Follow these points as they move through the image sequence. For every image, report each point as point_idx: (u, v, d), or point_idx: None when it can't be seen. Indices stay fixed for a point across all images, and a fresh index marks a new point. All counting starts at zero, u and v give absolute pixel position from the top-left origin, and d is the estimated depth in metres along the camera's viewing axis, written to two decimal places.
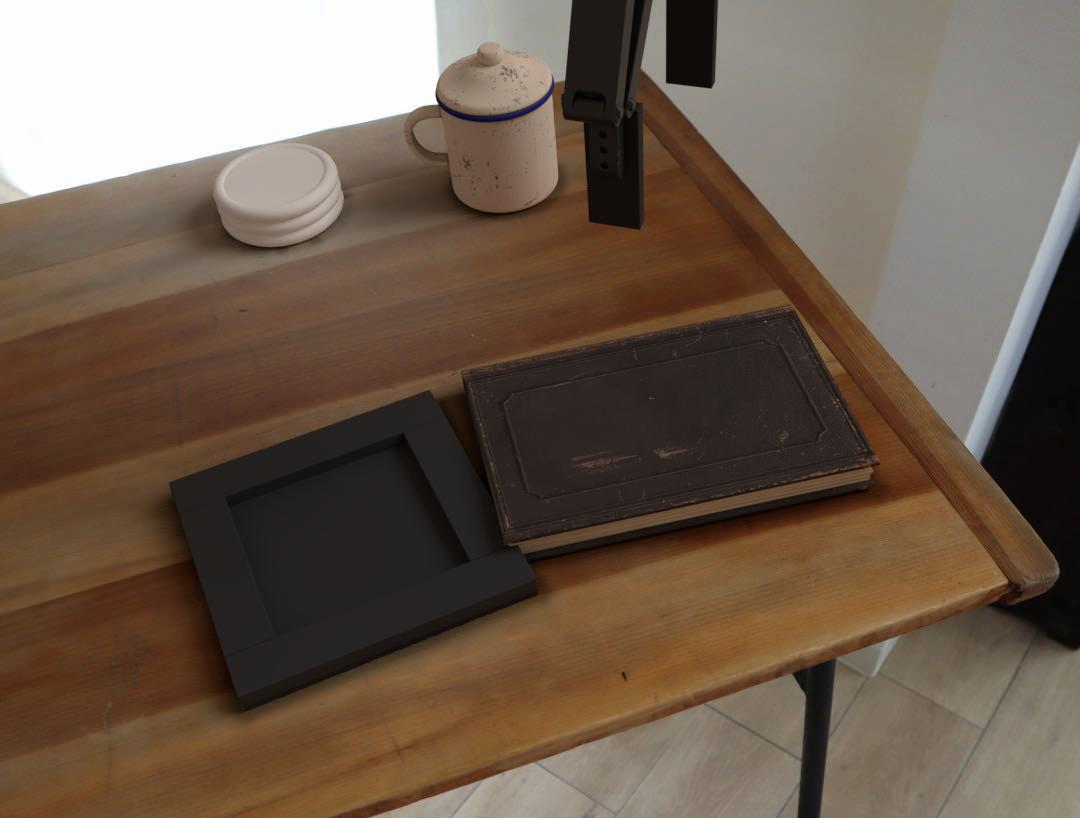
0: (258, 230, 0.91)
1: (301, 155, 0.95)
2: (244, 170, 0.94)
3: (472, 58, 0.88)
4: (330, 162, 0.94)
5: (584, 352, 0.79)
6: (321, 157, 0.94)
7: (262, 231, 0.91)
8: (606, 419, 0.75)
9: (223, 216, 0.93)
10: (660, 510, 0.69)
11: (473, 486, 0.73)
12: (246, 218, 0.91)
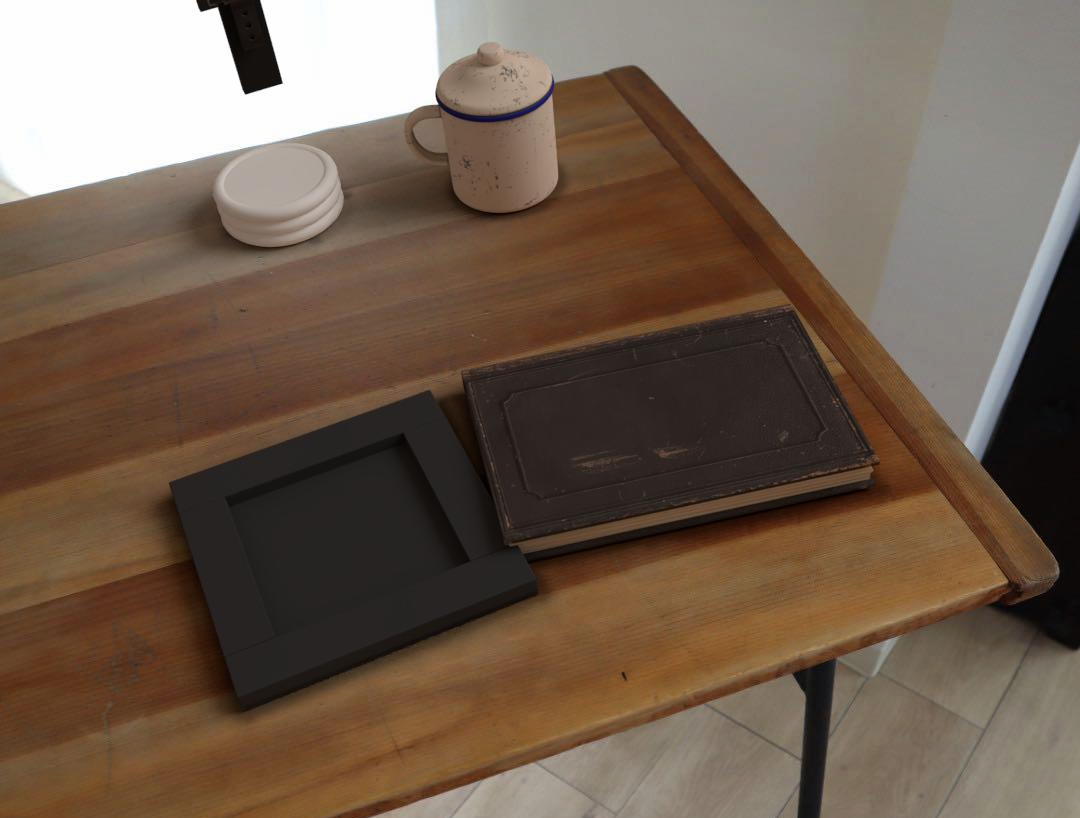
0: (258, 230, 0.91)
1: (301, 155, 0.95)
2: (244, 170, 0.94)
3: (472, 58, 0.88)
4: (330, 162, 0.94)
5: (583, 352, 0.79)
6: (321, 157, 0.94)
7: (262, 231, 0.91)
8: (606, 418, 0.75)
9: (223, 216, 0.93)
10: (660, 510, 0.70)
11: (473, 486, 0.73)
12: (246, 218, 0.91)
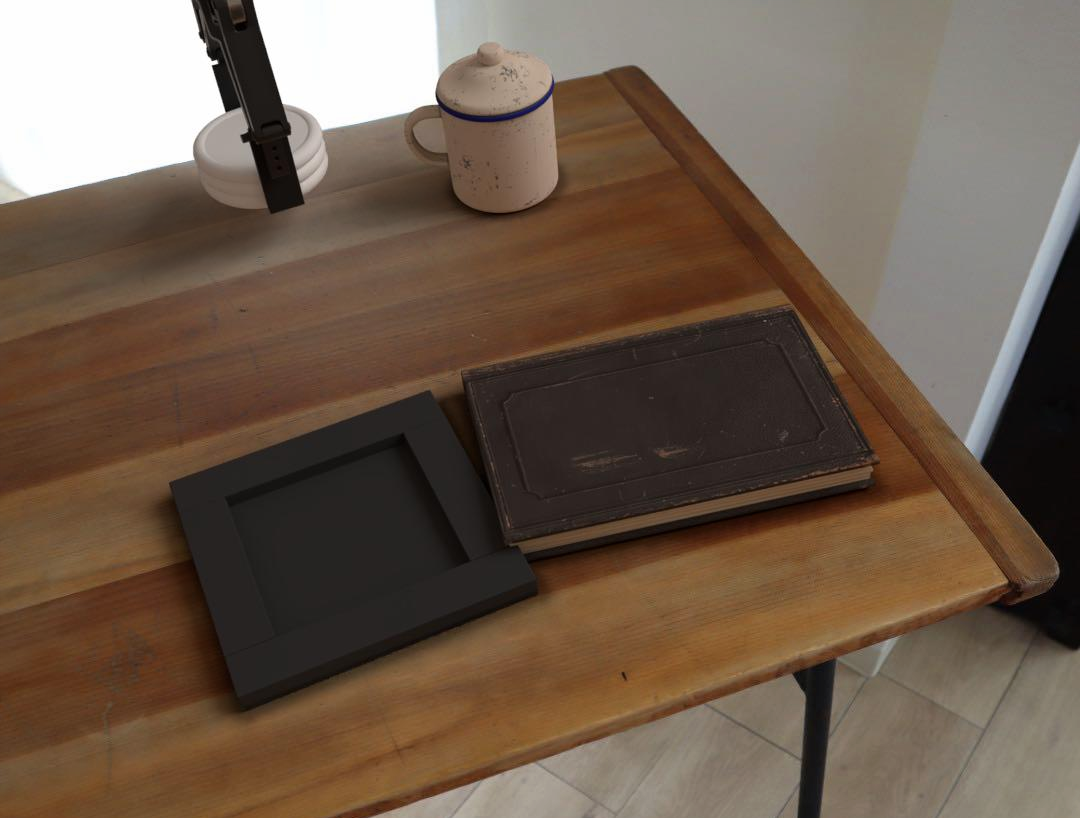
0: (239, 191, 0.89)
1: None
2: (226, 130, 0.91)
3: (472, 58, 0.88)
4: (314, 123, 0.91)
5: (583, 352, 0.79)
6: (306, 118, 0.92)
7: (243, 192, 0.89)
8: (606, 418, 0.75)
9: (203, 176, 0.90)
10: (660, 509, 0.70)
11: (473, 486, 0.73)
12: (227, 178, 0.88)
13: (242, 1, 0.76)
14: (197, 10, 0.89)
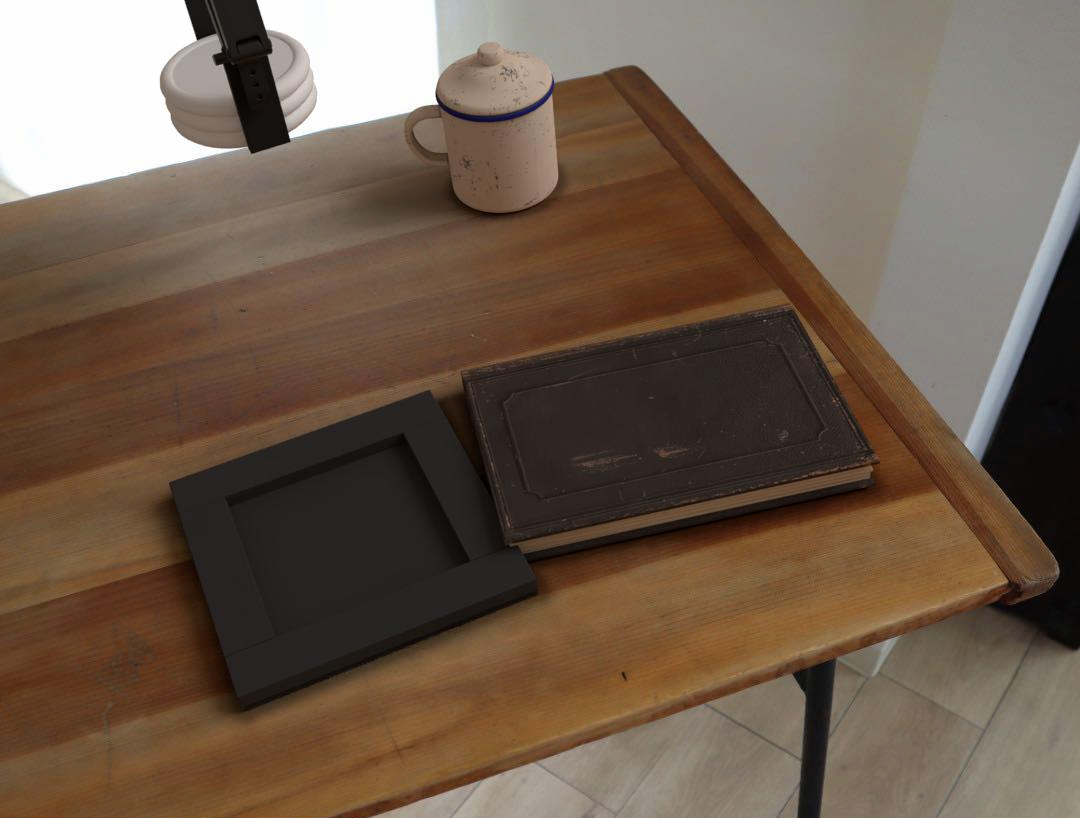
0: (214, 126, 0.76)
1: None
2: (197, 58, 0.79)
3: (472, 58, 0.88)
4: (300, 49, 0.79)
5: (583, 352, 0.79)
6: (290, 43, 0.79)
7: (219, 127, 0.76)
8: (606, 418, 0.75)
9: (172, 112, 0.77)
10: (661, 509, 0.70)
11: (473, 486, 0.73)
12: (199, 111, 0.75)
13: None
14: None
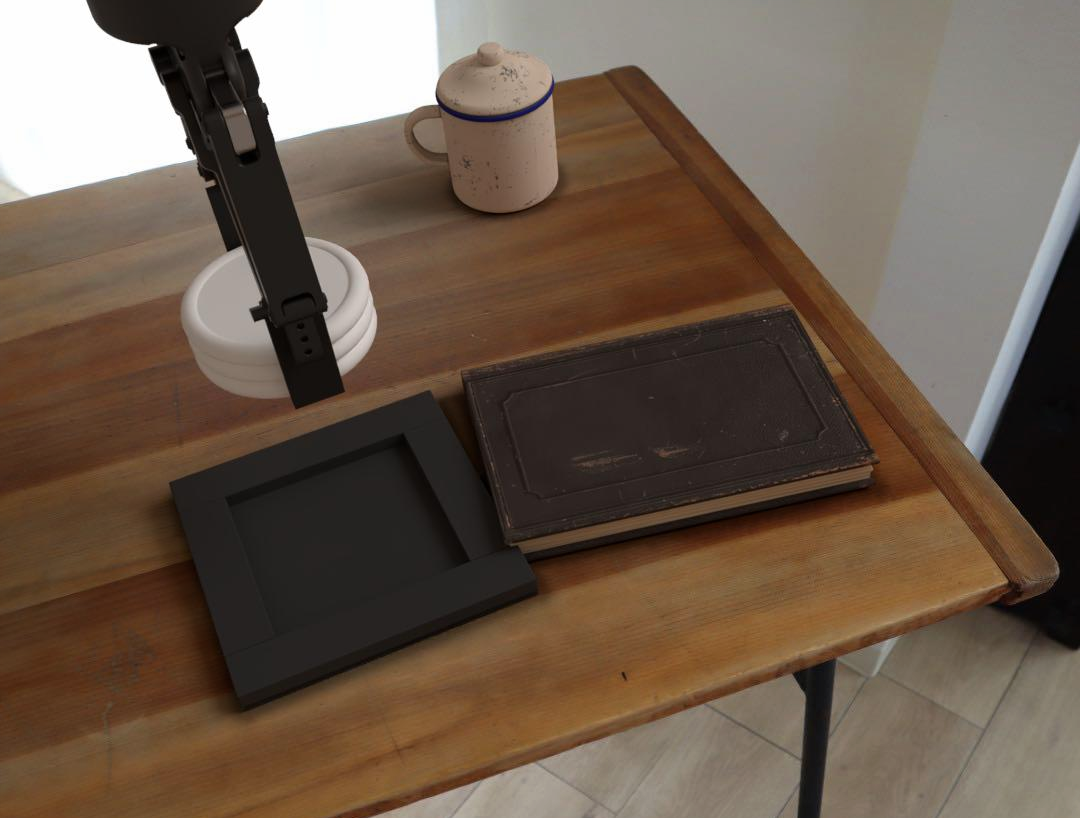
0: (250, 377, 0.60)
1: (313, 256, 0.63)
2: (228, 280, 0.63)
3: (472, 58, 0.88)
4: (357, 269, 0.62)
5: (583, 352, 0.79)
6: (344, 260, 0.63)
7: (256, 378, 0.60)
8: (606, 418, 0.75)
9: (196, 352, 0.61)
10: (661, 509, 0.70)
11: (473, 486, 0.73)
12: (231, 360, 0.59)
13: (250, 120, 0.48)
14: None
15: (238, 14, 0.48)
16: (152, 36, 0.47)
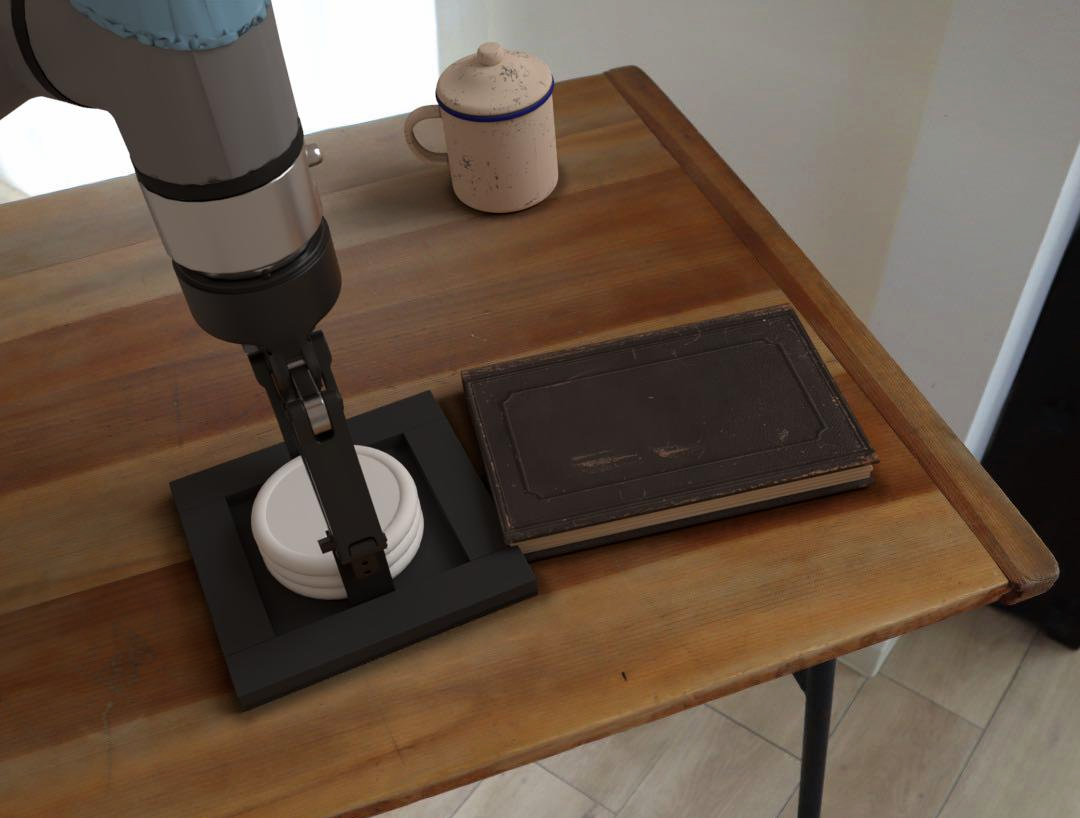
0: (313, 584, 0.68)
1: (368, 467, 0.71)
2: (292, 490, 0.71)
3: (472, 58, 0.88)
4: (407, 481, 0.70)
5: (583, 351, 0.79)
6: (395, 472, 0.71)
7: (319, 585, 0.68)
8: (606, 418, 0.75)
9: (265, 558, 0.69)
10: (661, 509, 0.70)
11: (473, 486, 0.73)
12: (298, 571, 0.67)
13: (328, 410, 0.56)
14: None
15: (318, 317, 0.56)
16: (245, 340, 0.55)
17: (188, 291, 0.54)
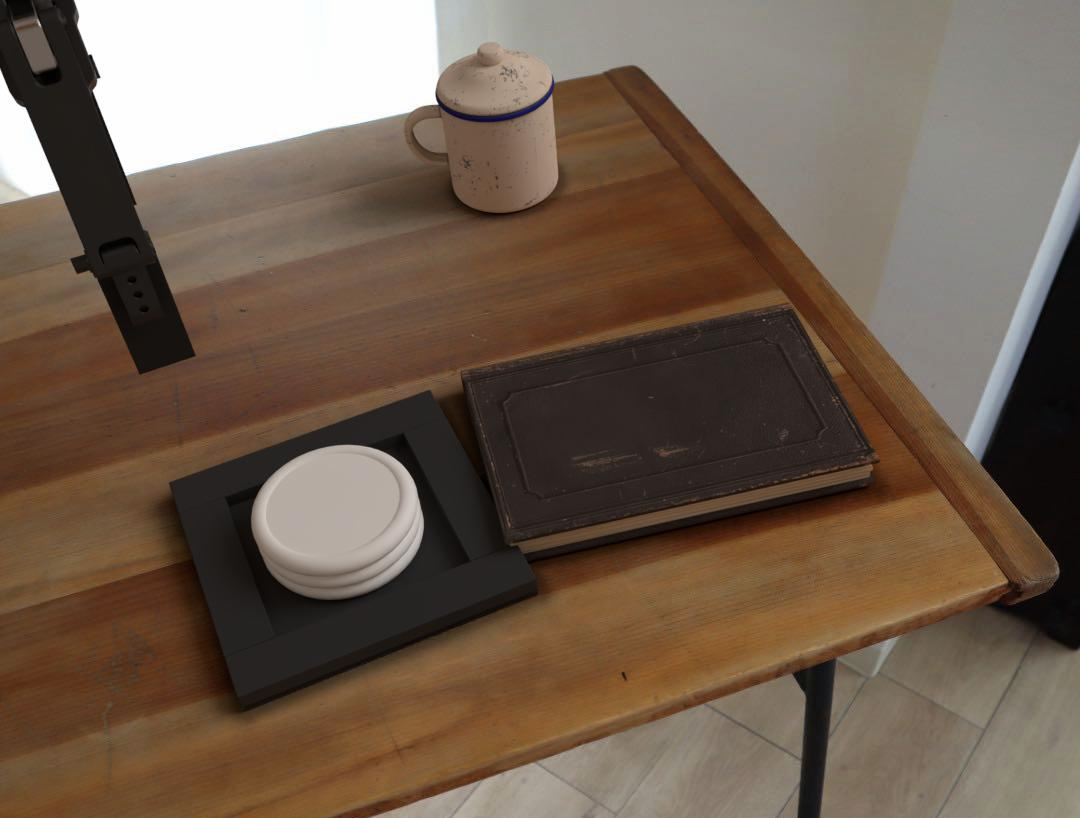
0: (313, 584, 0.68)
1: (368, 467, 0.71)
2: (293, 490, 0.71)
3: (472, 58, 0.88)
4: (407, 481, 0.70)
5: (582, 351, 0.79)
6: (395, 472, 0.71)
7: (319, 585, 0.68)
8: (606, 418, 0.75)
9: (265, 558, 0.69)
10: (661, 509, 0.70)
11: (473, 486, 0.73)
12: (298, 571, 0.67)
13: (45, 30, 0.43)
14: None
15: None
16: None
17: None
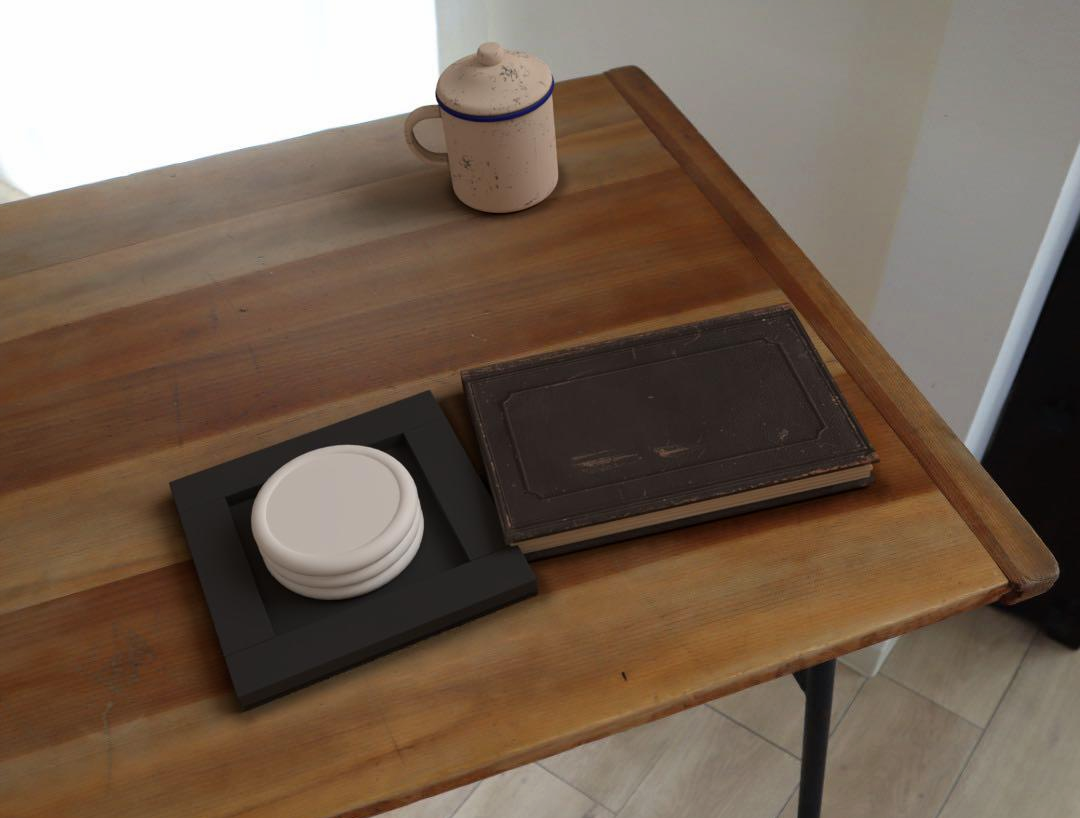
0: (313, 584, 0.68)
1: (368, 467, 0.71)
2: (293, 490, 0.71)
3: (472, 58, 0.88)
4: (407, 481, 0.70)
5: (582, 351, 0.79)
6: (395, 472, 0.71)
7: (319, 585, 0.68)
8: (606, 418, 0.75)
9: (265, 558, 0.69)
10: (661, 509, 0.70)
11: (473, 486, 0.73)
12: (298, 571, 0.67)
13: None
14: None
15: None
16: None
17: None
